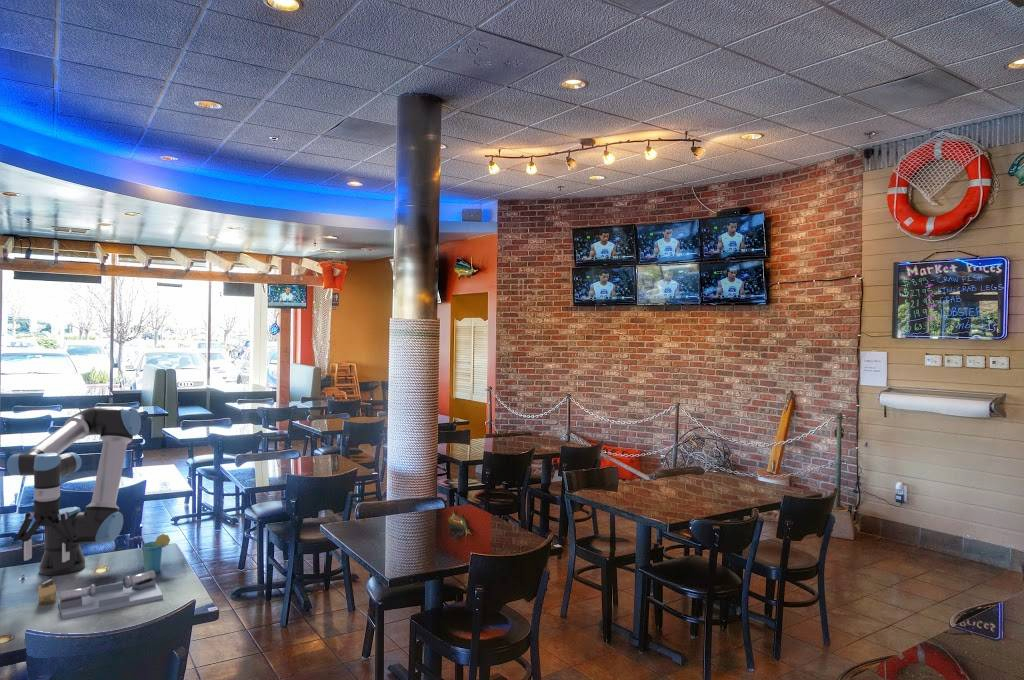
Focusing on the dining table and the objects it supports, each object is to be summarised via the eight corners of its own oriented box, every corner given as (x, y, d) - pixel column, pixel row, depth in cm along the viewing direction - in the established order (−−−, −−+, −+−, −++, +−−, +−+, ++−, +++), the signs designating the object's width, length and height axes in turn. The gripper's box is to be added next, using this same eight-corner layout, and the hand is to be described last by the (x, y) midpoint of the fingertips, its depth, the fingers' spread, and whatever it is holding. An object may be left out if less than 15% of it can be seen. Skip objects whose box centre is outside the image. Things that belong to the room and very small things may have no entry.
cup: (131, 578, 264) (131, 539, 264) (127, 572, 270) (127, 534, 270) (171, 571, 273) (171, 533, 272) (167, 565, 279) (167, 528, 278)
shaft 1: (59, 600, 236) (59, 588, 236) (94, 594, 242) (94, 582, 242) (60, 605, 233) (60, 592, 233) (95, 598, 239) (95, 586, 239)
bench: (58, 603, 241) (58, 593, 240) (154, 585, 259) (154, 575, 258) (62, 619, 229) (62, 608, 228) (162, 598, 247) (162, 588, 246)
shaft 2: (122, 590, 249) (122, 575, 249) (149, 582, 257) (149, 567, 257) (129, 594, 246) (129, 578, 246) (157, 585, 255) (157, 570, 255)
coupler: (35, 605, 239) (34, 583, 239) (45, 599, 244) (45, 578, 244) (49, 605, 239) (49, 584, 239) (59, 599, 244) (59, 579, 244)
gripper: (3, 500, 237) (3, 562, 238) (74, 503, 236) (74, 565, 236) (20, 495, 245) (20, 555, 245) (89, 497, 243) (88, 557, 244)
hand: (46, 560), depth 241 cm, fingers open, 13 cm apart
